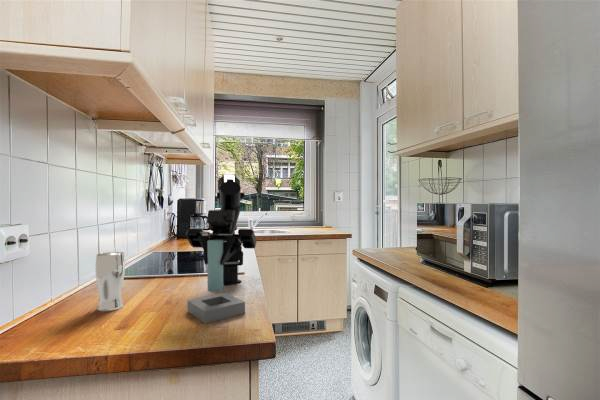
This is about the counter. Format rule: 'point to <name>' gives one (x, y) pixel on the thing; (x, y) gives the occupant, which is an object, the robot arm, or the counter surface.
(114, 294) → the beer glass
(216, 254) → the peg
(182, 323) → the counter surface
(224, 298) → the socket block
